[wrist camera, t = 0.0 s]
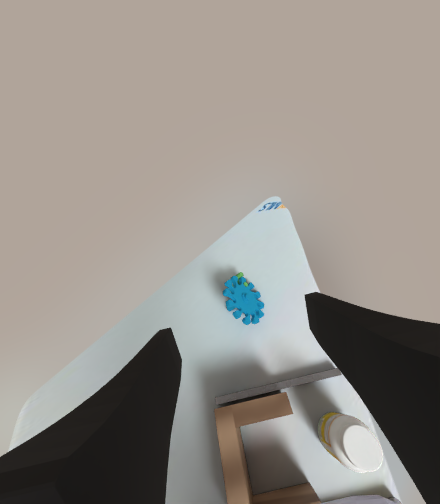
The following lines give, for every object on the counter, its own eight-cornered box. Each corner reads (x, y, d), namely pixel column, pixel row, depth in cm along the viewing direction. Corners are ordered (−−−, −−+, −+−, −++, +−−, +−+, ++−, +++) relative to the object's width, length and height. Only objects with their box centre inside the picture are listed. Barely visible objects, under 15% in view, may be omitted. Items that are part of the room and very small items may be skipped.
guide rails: (399, 508, 27) (405, 513, 26) (238, 545, 27) (237, 552, 26) (335, 368, 36) (338, 367, 35) (216, 397, 37) (214, 397, 35)
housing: (317, 509, 28) (331, 535, 23) (239, 527, 28) (235, 558, 23) (281, 392, 35) (286, 391, 30) (220, 407, 36) (214, 409, 30)
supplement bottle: (309, 420, 33) (326, 428, 25) (340, 405, 34) (365, 408, 26) (332, 466, 30) (358, 490, 22) (365, 449, 31) (402, 467, 23)
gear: (270, 328, 40) (228, 314, 36) (249, 338, 44) (208, 326, 39) (262, 279, 47) (226, 263, 43) (244, 291, 51) (209, 277, 47)
